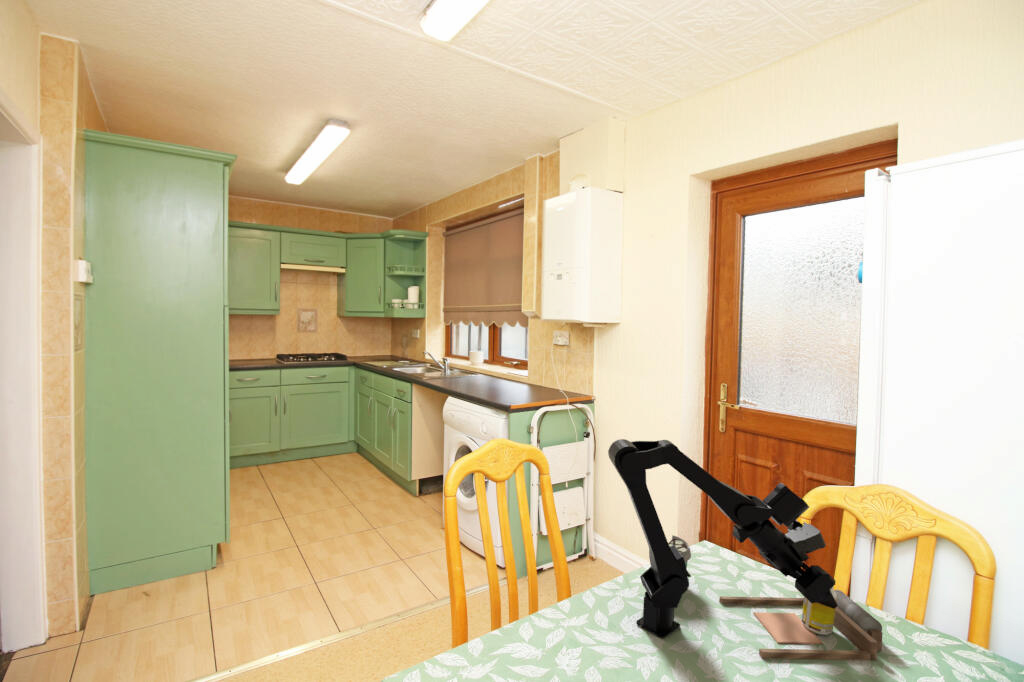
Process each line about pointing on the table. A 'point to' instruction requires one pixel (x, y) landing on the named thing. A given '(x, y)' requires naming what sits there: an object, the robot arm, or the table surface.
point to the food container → (681, 548)
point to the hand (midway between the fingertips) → (821, 594)
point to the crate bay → (792, 631)
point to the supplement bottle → (818, 616)
